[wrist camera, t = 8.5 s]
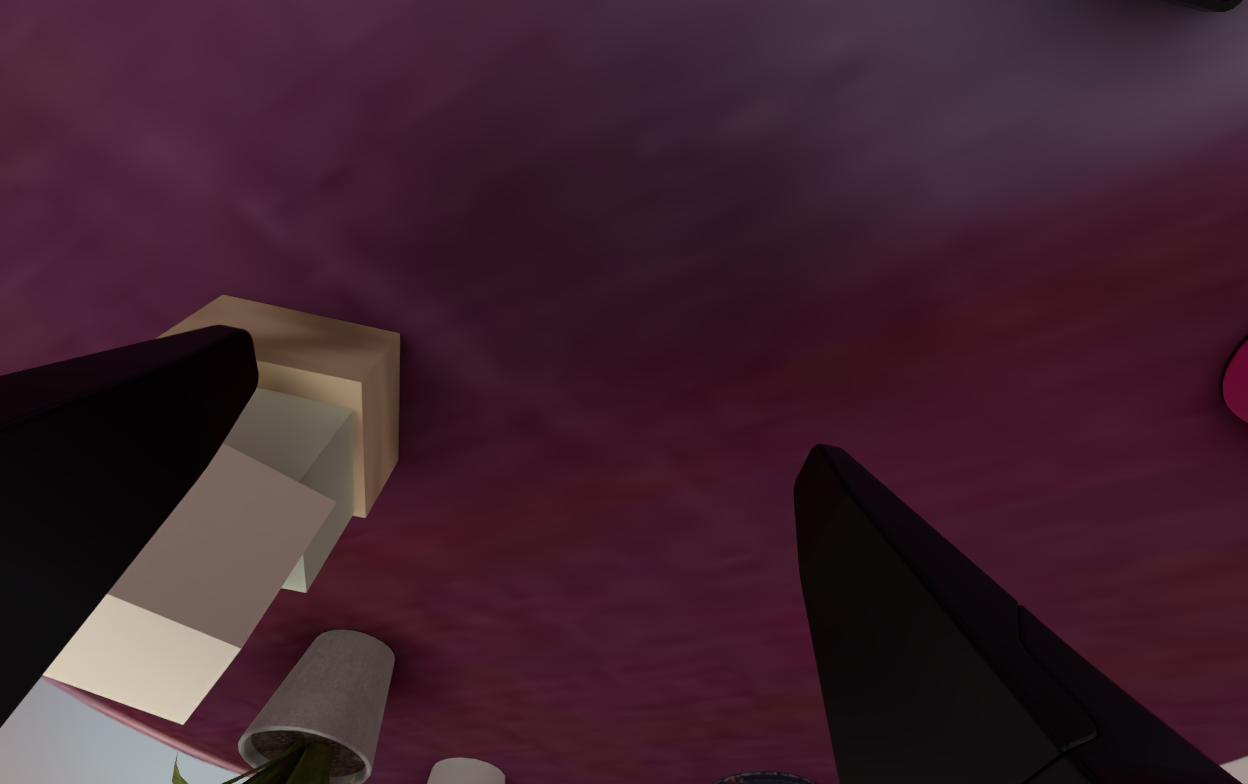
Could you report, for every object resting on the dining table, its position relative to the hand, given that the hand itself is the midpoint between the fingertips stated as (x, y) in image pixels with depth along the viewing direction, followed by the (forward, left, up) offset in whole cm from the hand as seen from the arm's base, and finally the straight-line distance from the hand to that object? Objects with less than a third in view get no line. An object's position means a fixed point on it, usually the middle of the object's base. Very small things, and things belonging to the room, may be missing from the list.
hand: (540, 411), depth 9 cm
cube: (+10, +10, -5) cm, 15 cm away
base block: (+11, +11, -13) cm, 20 cm away
